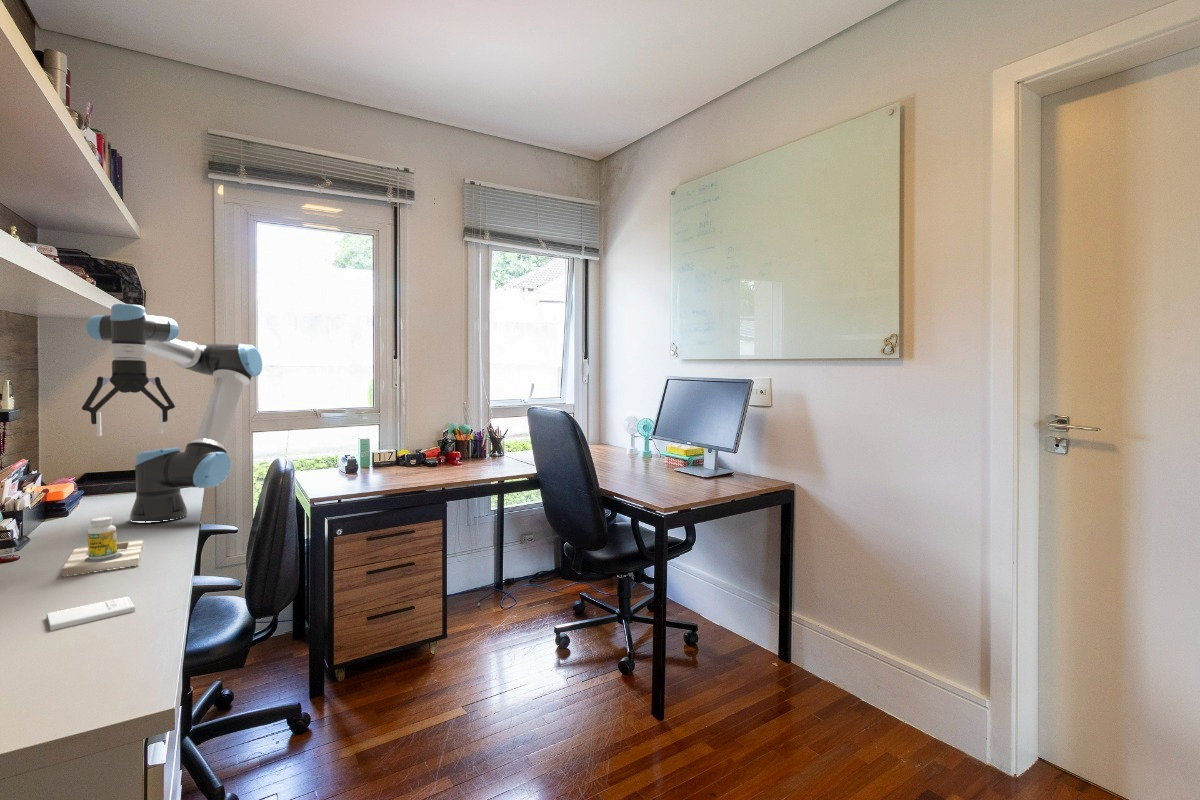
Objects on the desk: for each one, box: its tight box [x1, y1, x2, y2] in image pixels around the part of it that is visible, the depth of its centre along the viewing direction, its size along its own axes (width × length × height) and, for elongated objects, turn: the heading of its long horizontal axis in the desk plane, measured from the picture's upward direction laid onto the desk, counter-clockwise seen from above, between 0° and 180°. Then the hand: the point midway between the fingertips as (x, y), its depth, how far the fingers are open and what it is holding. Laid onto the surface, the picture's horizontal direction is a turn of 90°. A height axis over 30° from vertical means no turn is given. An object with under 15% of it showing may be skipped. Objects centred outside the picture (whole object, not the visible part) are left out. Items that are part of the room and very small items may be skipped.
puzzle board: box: [61, 539, 144, 577], centre depth 147 cm, size 20×14×2 cm
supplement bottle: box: [87, 516, 118, 560], centre depth 142 cm, size 5×5×10 cm
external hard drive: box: [46, 596, 136, 632], centre depth 114 cm, size 2×8×12 cm
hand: (131, 434), depth 162 cm, fingers open, 13 cm apart
